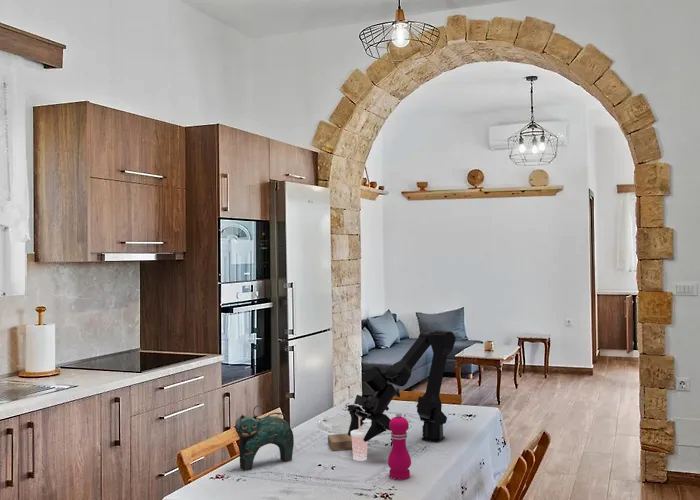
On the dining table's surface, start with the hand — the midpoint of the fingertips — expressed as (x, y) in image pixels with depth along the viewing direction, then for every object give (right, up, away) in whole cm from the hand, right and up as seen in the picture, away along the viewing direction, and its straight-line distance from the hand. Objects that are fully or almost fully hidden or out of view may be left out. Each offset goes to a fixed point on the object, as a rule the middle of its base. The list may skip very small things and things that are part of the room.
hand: (356, 438), depth 240 cm
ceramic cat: (-30, -8, -3) cm, 31 cm away
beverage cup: (+1, -7, +1) cm, 7 cm away
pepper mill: (+13, -8, -16) cm, 22 cm away
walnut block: (-5, -7, +15) cm, 17 cm away
